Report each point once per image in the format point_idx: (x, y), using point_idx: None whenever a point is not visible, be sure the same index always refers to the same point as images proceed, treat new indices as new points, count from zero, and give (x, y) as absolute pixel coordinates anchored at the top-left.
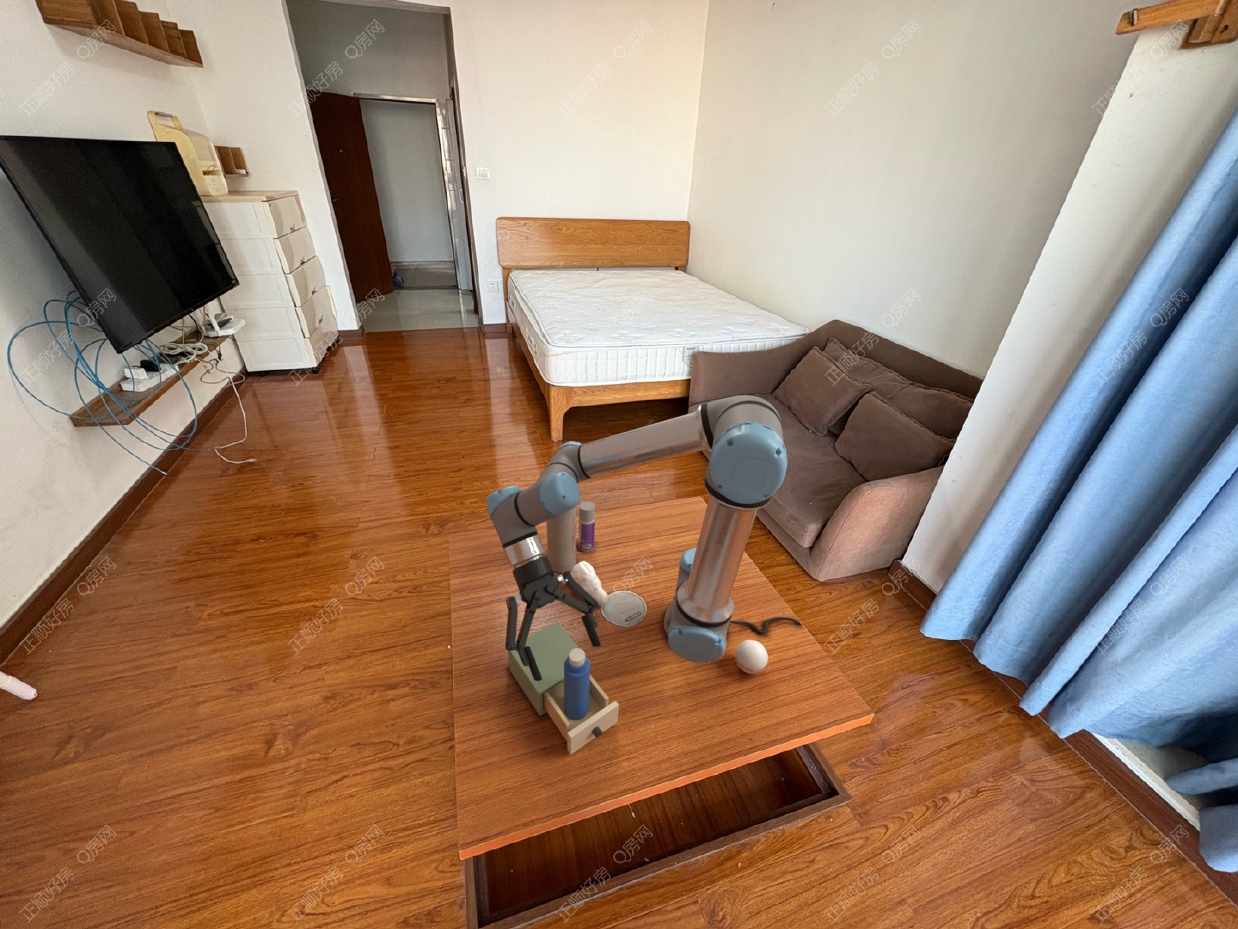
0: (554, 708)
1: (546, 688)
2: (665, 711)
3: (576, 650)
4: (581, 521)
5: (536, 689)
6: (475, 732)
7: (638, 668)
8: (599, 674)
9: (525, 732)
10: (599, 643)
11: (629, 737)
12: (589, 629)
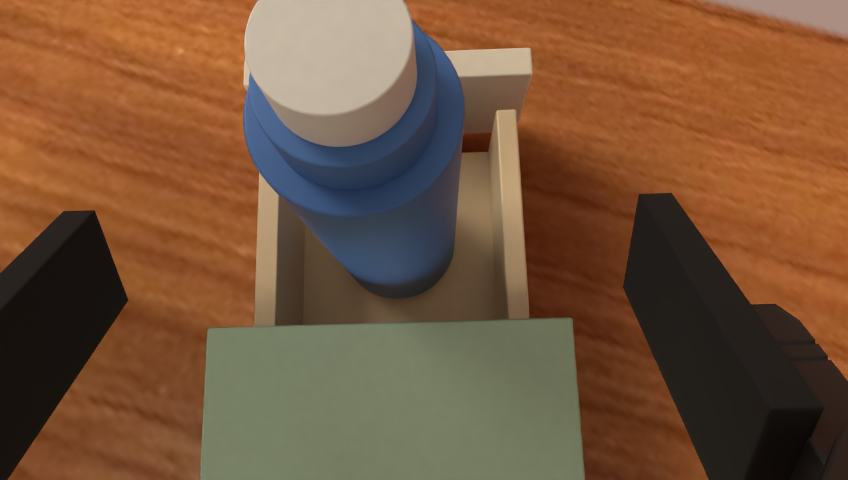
0: (522, 221)
1: (519, 323)
2: (97, 68)
3: (302, 79)
4: None
5: (572, 350)
6: None
7: None
8: (199, 364)
9: (623, 303)
10: (62, 219)
11: None
12: (19, 343)
